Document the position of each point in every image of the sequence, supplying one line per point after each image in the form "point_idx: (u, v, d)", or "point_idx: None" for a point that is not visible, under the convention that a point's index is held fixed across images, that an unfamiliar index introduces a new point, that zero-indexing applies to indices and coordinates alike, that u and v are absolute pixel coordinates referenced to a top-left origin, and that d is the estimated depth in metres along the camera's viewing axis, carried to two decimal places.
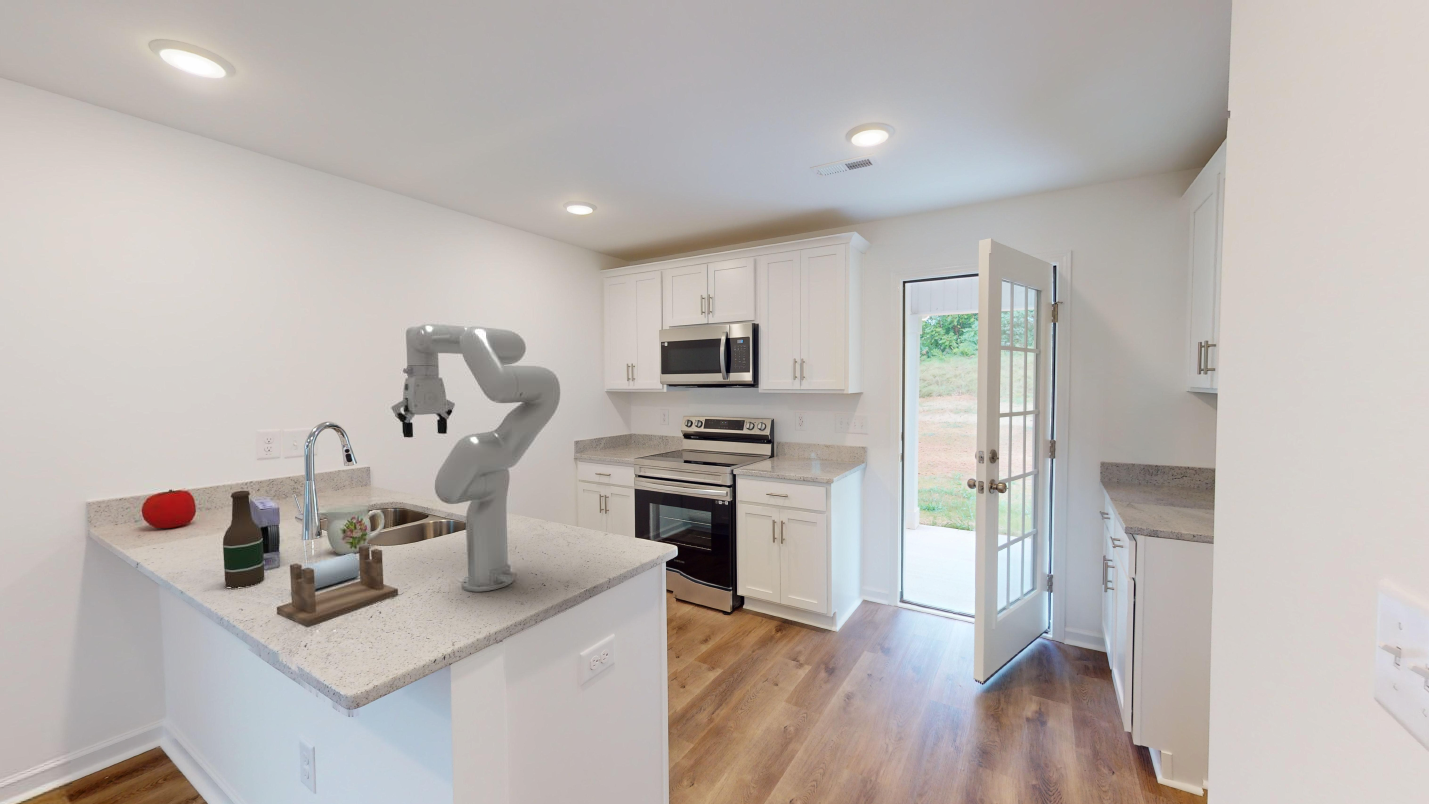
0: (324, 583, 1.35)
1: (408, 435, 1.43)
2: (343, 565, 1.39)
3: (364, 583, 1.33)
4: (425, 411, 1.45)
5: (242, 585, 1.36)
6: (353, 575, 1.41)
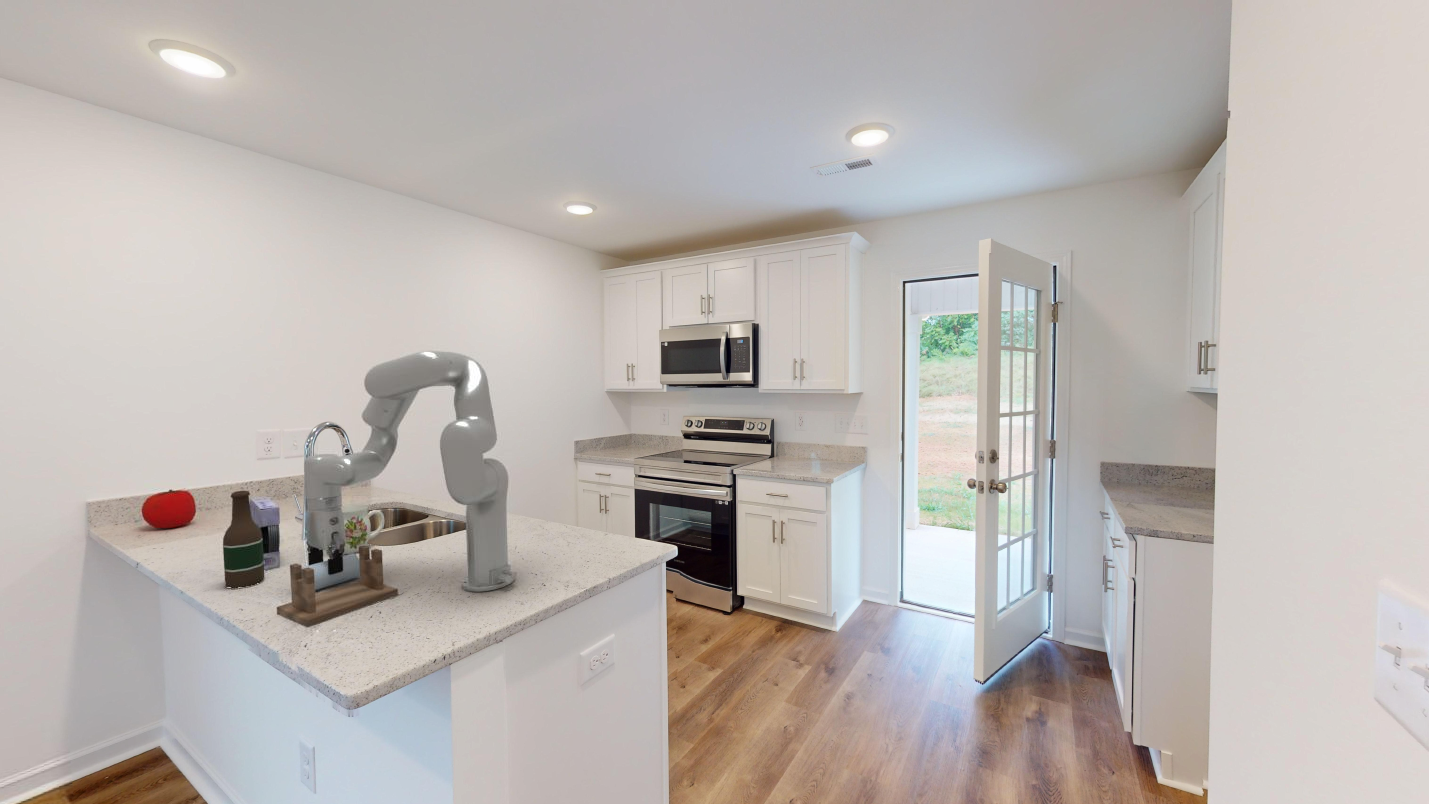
0: (324, 586, 1.35)
1: (338, 570, 1.36)
2: (345, 570, 1.38)
3: (364, 583, 1.33)
4: None
5: (242, 585, 1.36)
6: (353, 578, 1.41)
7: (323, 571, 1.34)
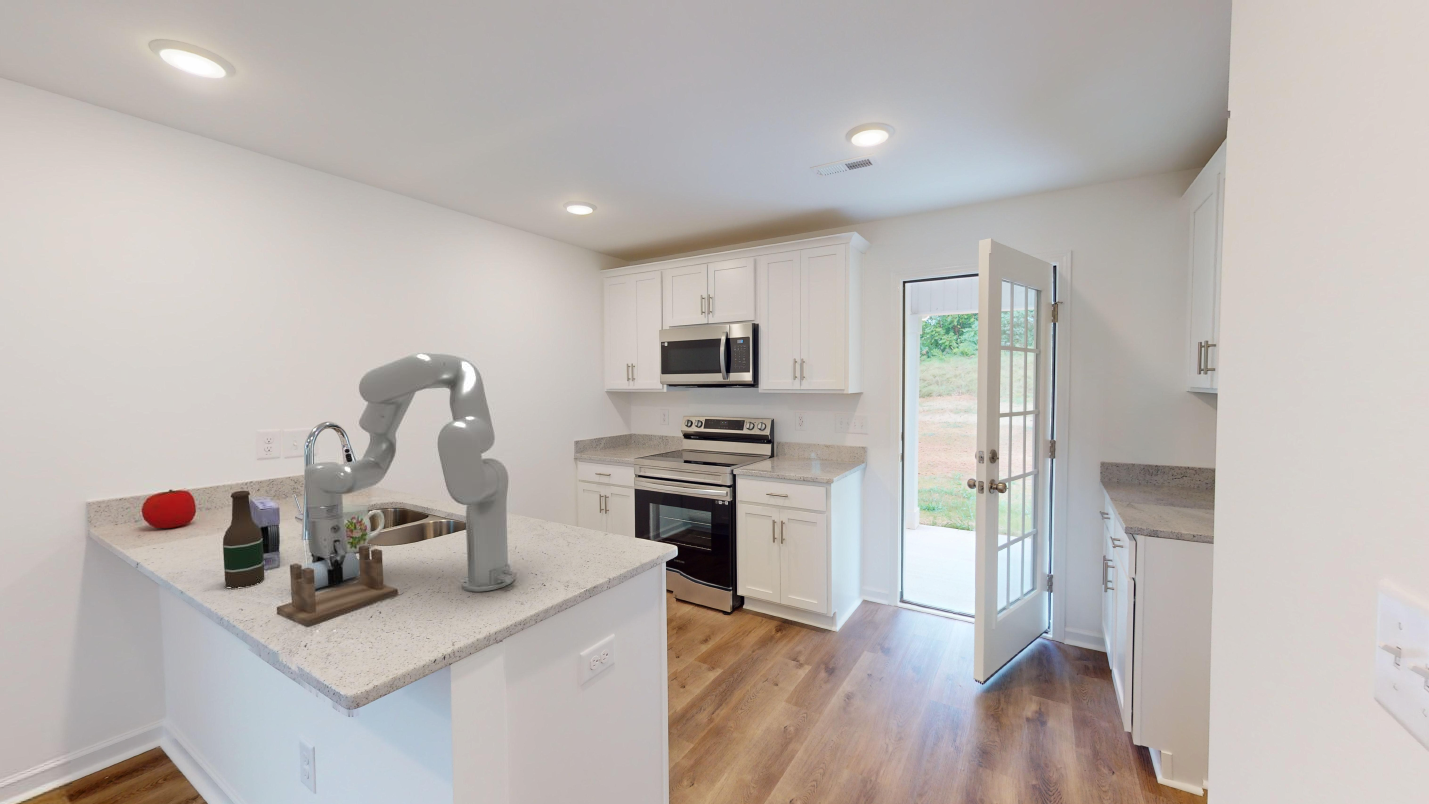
0: (324, 583, 1.35)
1: (338, 580, 1.37)
2: (343, 566, 1.39)
3: (364, 583, 1.33)
4: None
5: (242, 585, 1.36)
6: (353, 575, 1.41)
7: (320, 567, 1.35)
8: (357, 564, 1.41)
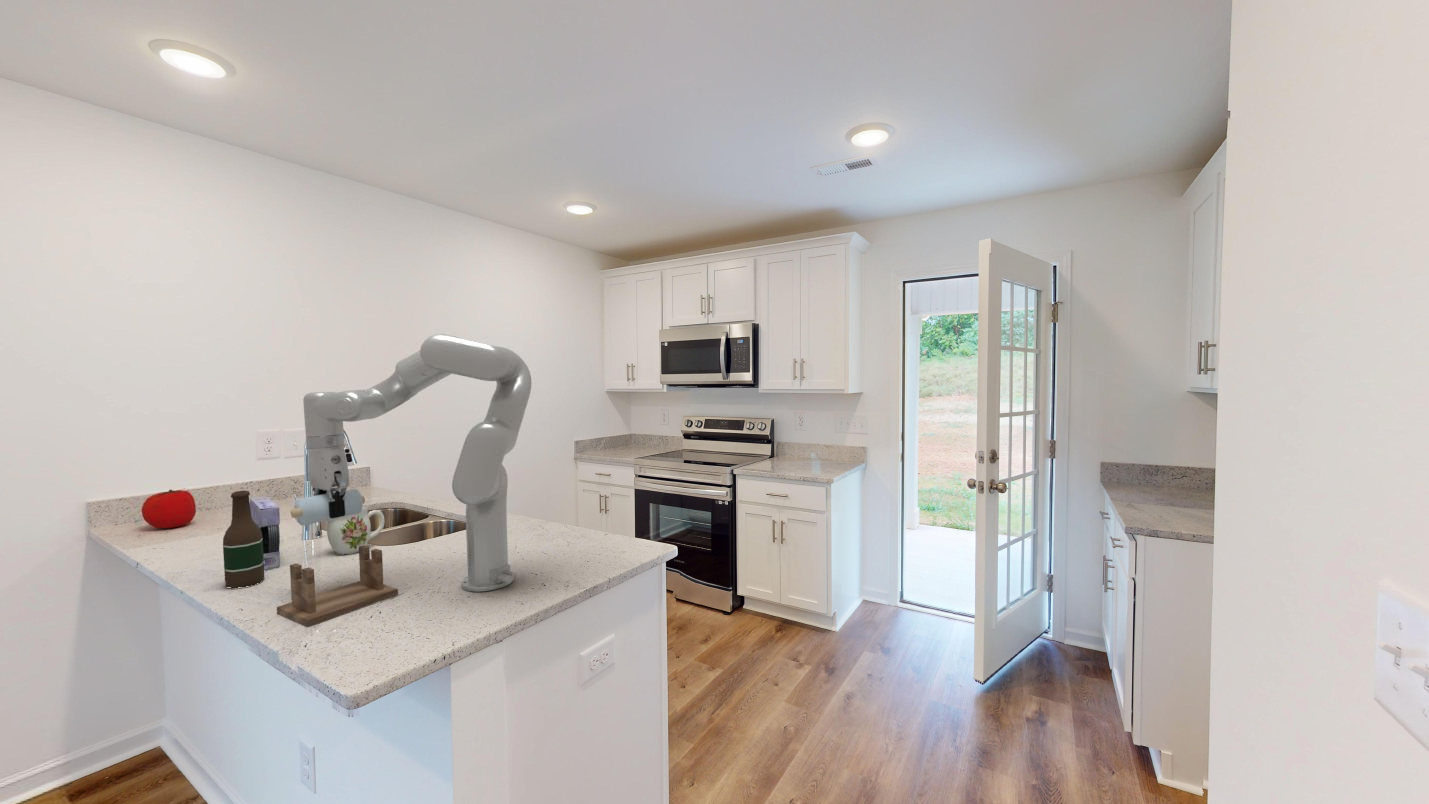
0: (325, 517, 1.29)
1: (340, 514, 1.31)
2: (345, 500, 1.33)
3: (364, 583, 1.33)
4: None
5: (242, 585, 1.36)
6: (356, 511, 1.35)
7: (321, 500, 1.29)
8: (360, 499, 1.35)
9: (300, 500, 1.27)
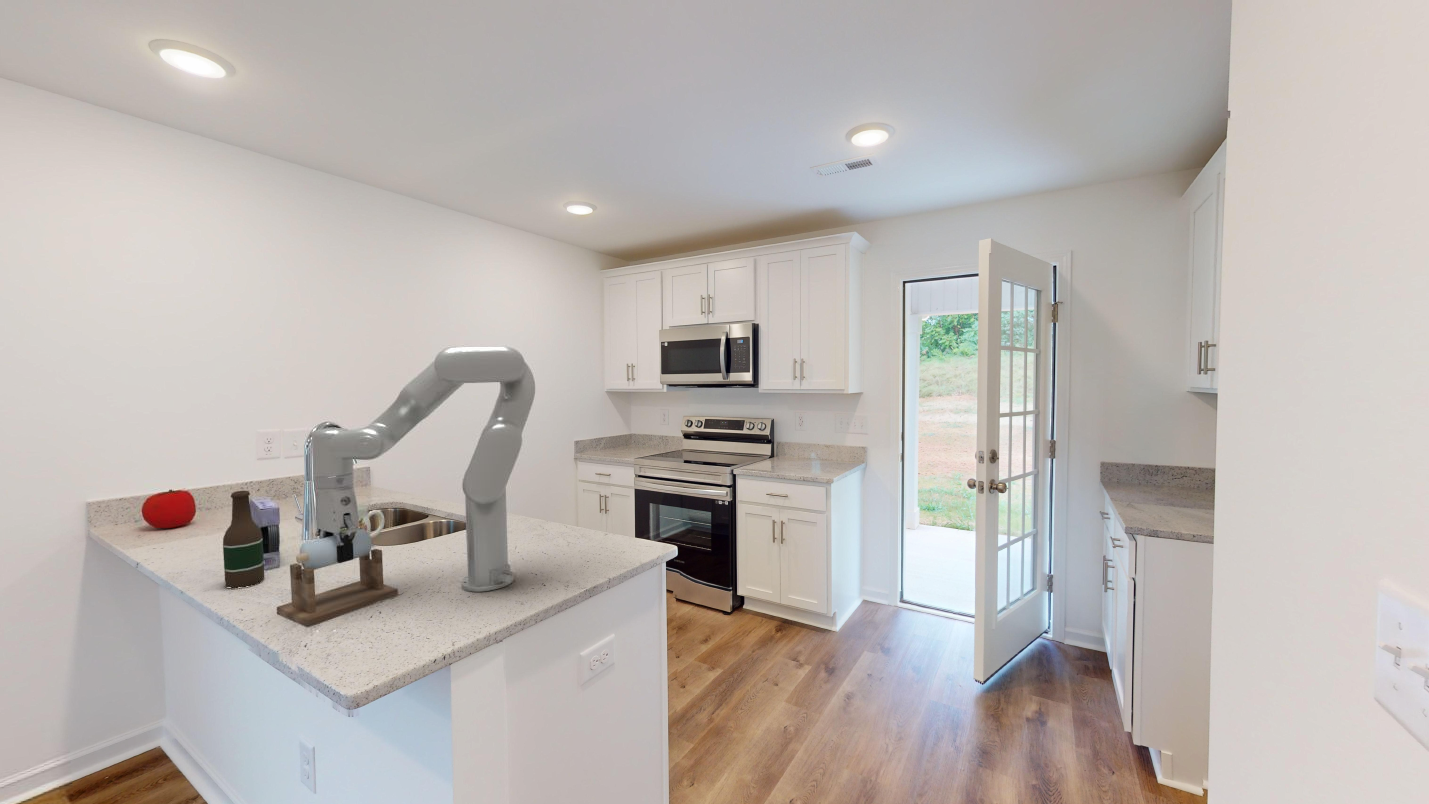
0: (332, 561, 1.22)
1: (348, 558, 1.24)
2: (353, 543, 1.26)
3: (364, 583, 1.33)
4: None
5: (242, 585, 1.36)
6: (364, 553, 1.28)
7: (329, 543, 1.22)
8: (368, 541, 1.28)
9: (306, 544, 1.20)
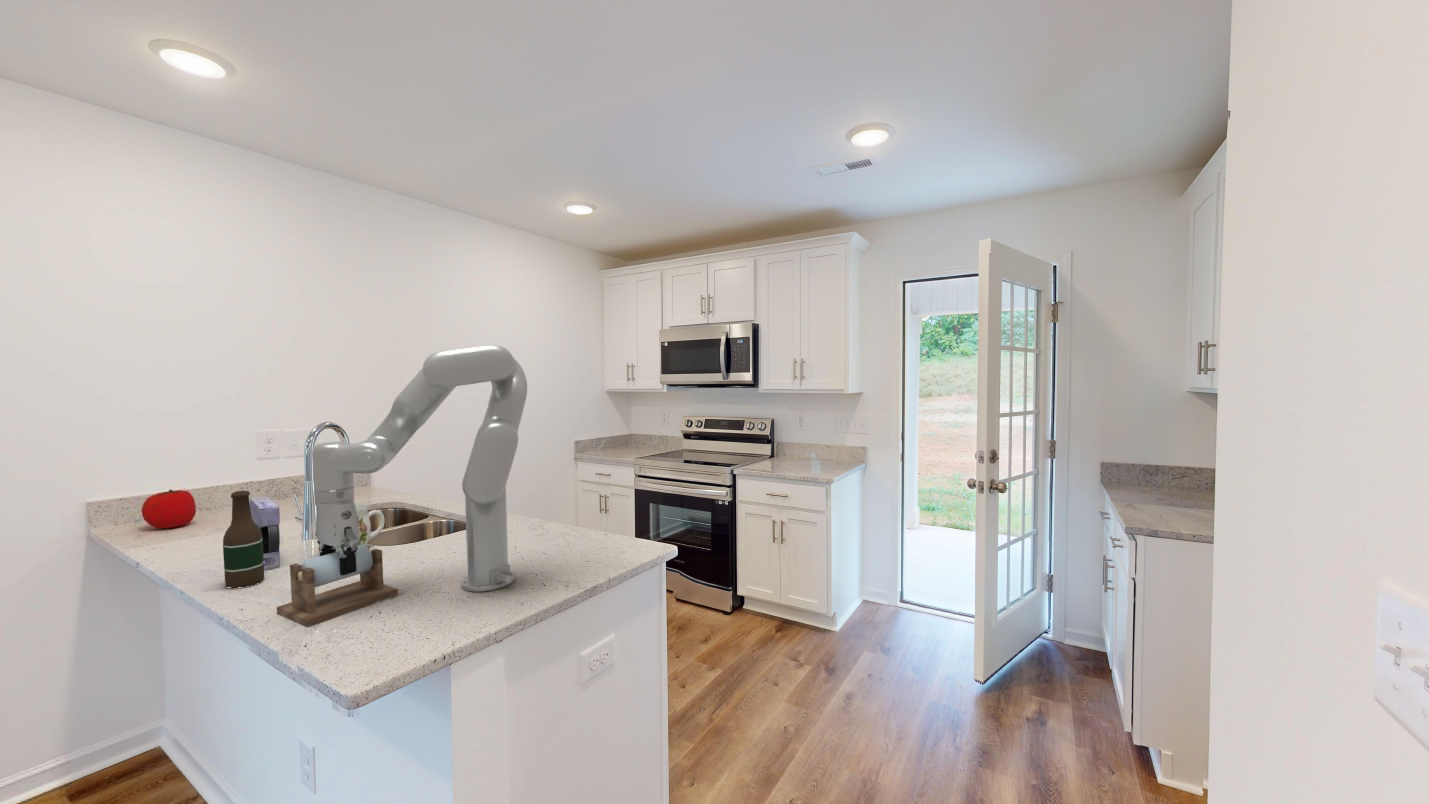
0: (334, 578, 1.22)
1: (351, 570, 1.24)
2: None
3: (364, 583, 1.33)
4: None
5: (242, 585, 1.36)
6: (365, 569, 1.28)
7: (330, 560, 1.22)
8: (370, 557, 1.29)
9: (308, 562, 1.20)
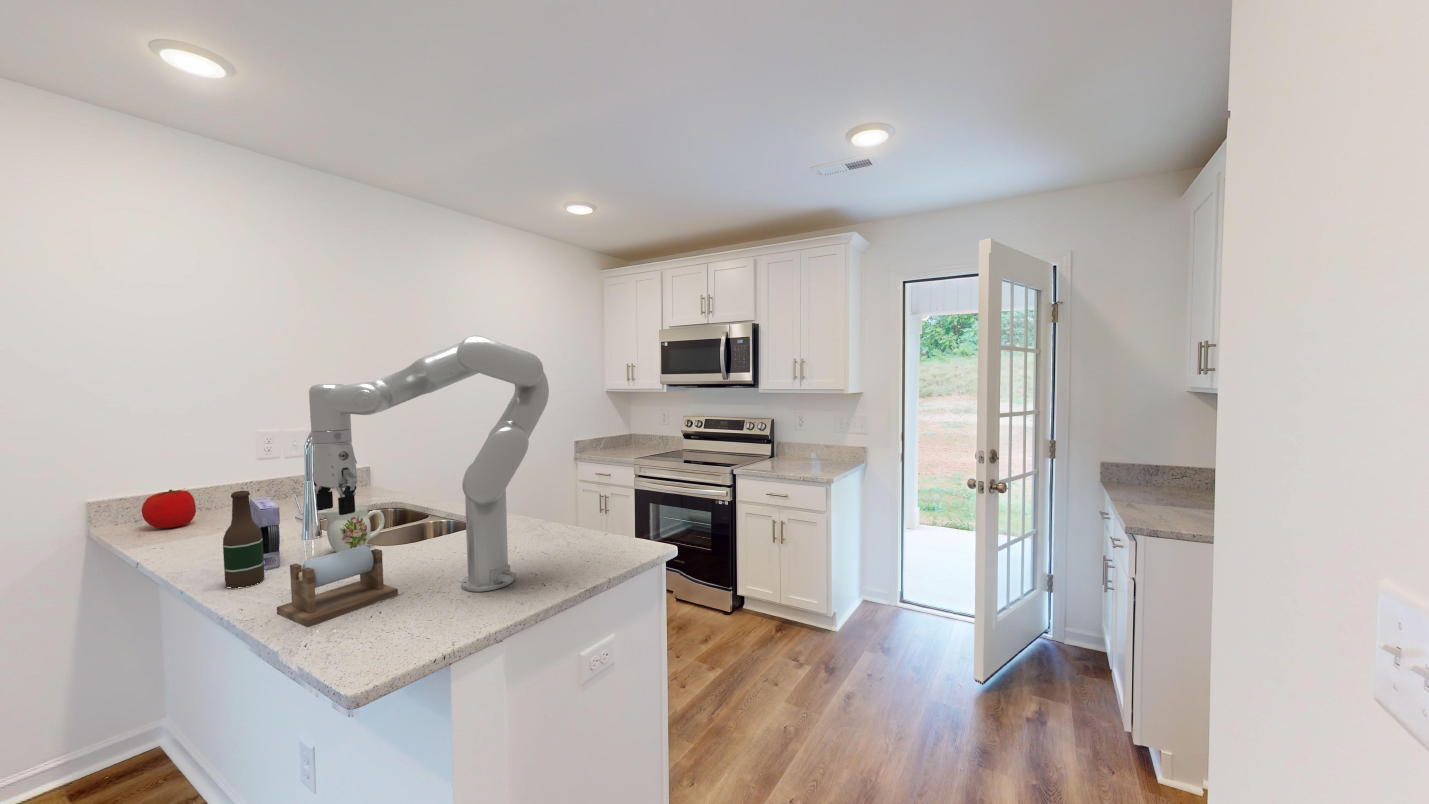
0: (333, 581, 1.23)
1: (350, 511, 1.23)
2: (356, 564, 1.26)
3: (364, 583, 1.33)
4: None
5: (242, 585, 1.36)
6: (364, 572, 1.29)
7: (333, 565, 1.22)
8: (371, 562, 1.28)
9: (311, 564, 1.19)
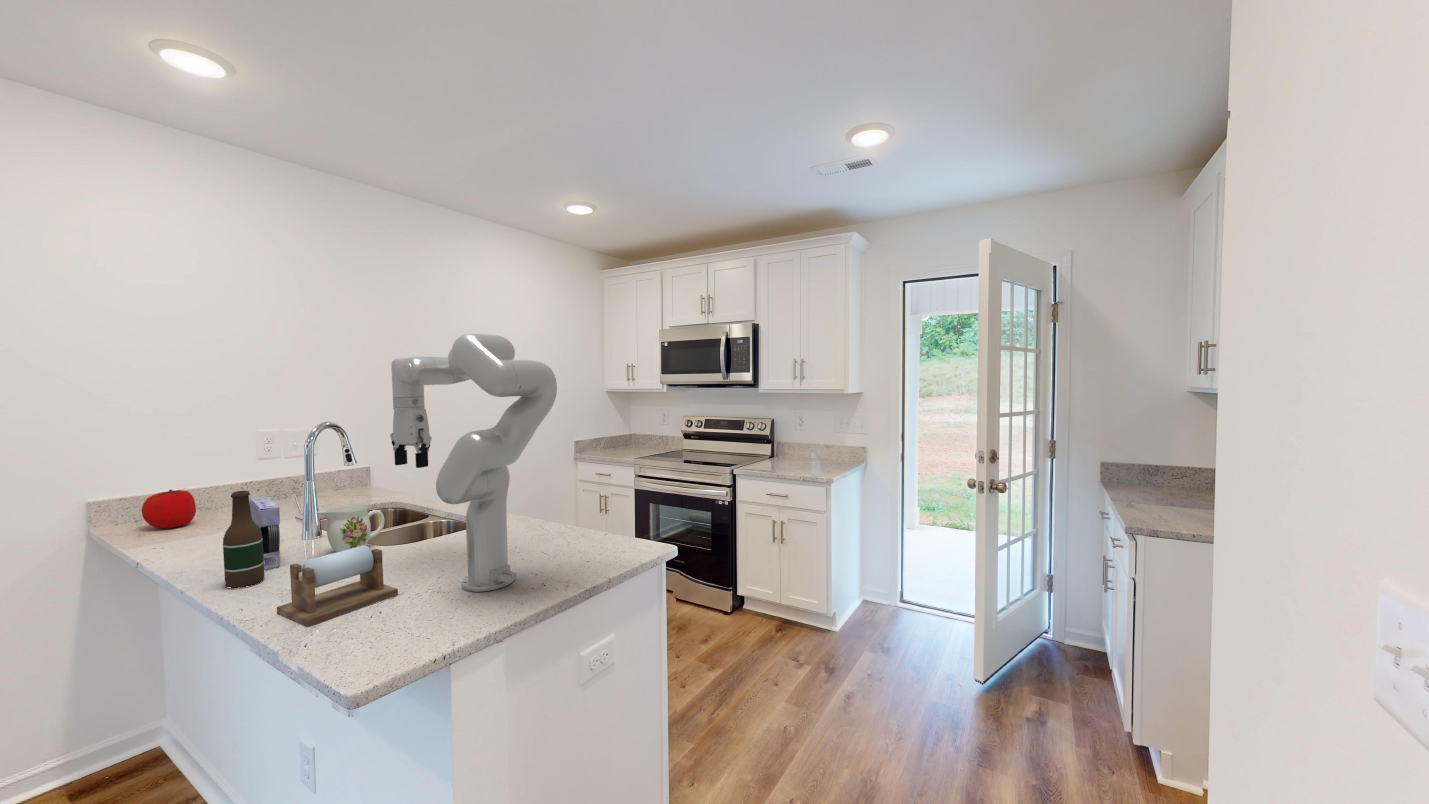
0: None
1: (424, 465, 1.46)
2: (357, 565, 1.26)
3: (364, 583, 1.33)
4: None
5: (242, 585, 1.36)
6: (364, 572, 1.29)
7: (333, 566, 1.22)
8: (371, 563, 1.28)
9: (311, 564, 1.19)
